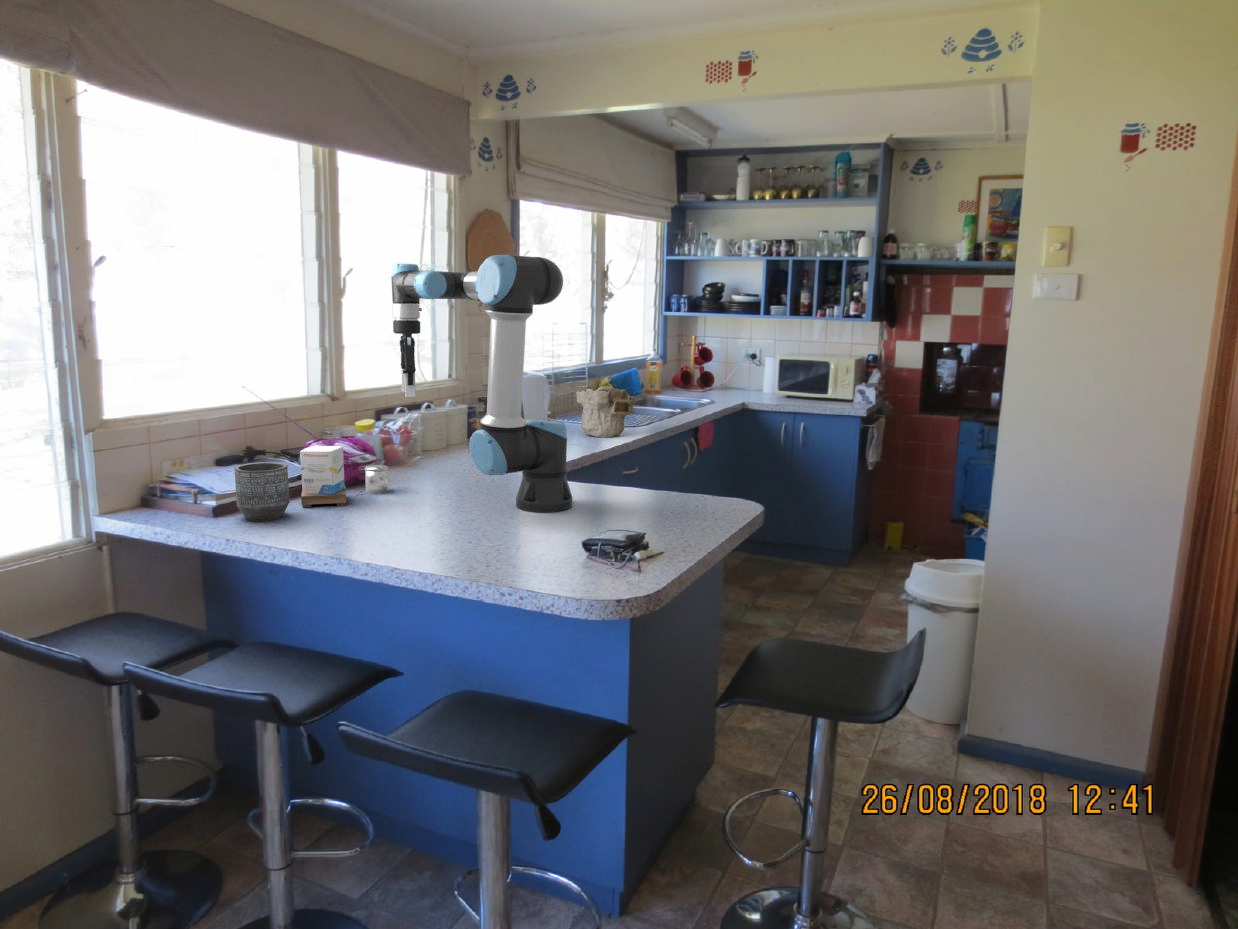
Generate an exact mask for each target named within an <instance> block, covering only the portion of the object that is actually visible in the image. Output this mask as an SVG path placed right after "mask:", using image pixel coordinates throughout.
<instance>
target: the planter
mask: <svg viewBox="0 0 1238 929" xmlns="http://www.w3.org/2000/svg"><path fill="white" fill-rule="evenodd" d="M288 467H289V466H288V464H287V463H284V462H276V461H275V462H273V461H266V462H265V461H262V462H249V463H244V464H240V465H236V466H234V482H235V483H234V486H235V500H236V501H235V502H236V507H237V509H238V510H239V511H240V513H241V514H242V515H243V516H244V517H245V519H246V520H247V521H251V520H252V521H254V522H264V521H265V522H266V521H273V520H277V519H280V518H282V517H283V515H284V514H285V512H286V510H287V508H288V506H289V504H290V489H289V486H290V484H289V481H290V480H289V470H288V469H289V468H288ZM252 521H251V522H252Z"/></svg>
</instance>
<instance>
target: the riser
mask: <svg viewBox="0 0 1238 929" xmlns="http://www.w3.org/2000/svg"><path fill="white" fill-rule="evenodd" d="M346 494H347V493H346V487H345V488H344V489H342V490H341V491H339V492H337V493H335V494H303V488H302V490H301V495H300V500H301V502H300V503H301V505H302V508H312V505H327V504H336V506H337V507H340V506H342V505H343V506H346V503H347V495H346Z"/></svg>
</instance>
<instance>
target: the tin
mask: <svg viewBox="0 0 1238 929" xmlns="http://www.w3.org/2000/svg"><path fill="white" fill-rule="evenodd" d="M388 469H389V468H388V465H384V464H371V465H370V464H369V465H366V466H364V471H365V472H364V473H365V477H364V480H365V493H366V494H369V493H373V494H372V495H379V494H378V493H382V494H386V493H388V492H389V485H388V484H389V483H388V481H389V480H388Z"/></svg>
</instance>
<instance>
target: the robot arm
mask: <svg viewBox="0 0 1238 929" xmlns="http://www.w3.org/2000/svg"><path fill="white" fill-rule="evenodd" d="M563 277H564V276H563V274H562V271H561V269H560V268H559V266H558V265H557V264H556V263H555V262H553V261H552V260H550V259H549V258H545V257H541V256H525V255H514V254H513V255H511V254H496V255H495V254H494V255H491V256H488V257H487V258H486V259H485V260H483V262H482V263H481V264H480V266H479V268H478V270H477V271H465V272H462V271H461V272H460V271H459V272H458V271H455V272H454V271H442V270H441V271H439V270H432V269H431V270H429V269H426V270H420V267H419V265H418V264H416V263H393V265H392V266H391V277H390V280H391V296H392V303H391V304H392V318H393V319H394V320H393V321H392V325H393V326H392V328H393V329H392V330H393V331H392V332H393V334H399V335H400V334H402V335H400V339H399V348H400V350H399V351H400V368H401V371H400V372H401V392H404V393H405V394H404V395H405V398H410V397H411V398H416V395H417V394H416V371H417V370H416V369H417V368H416V360H415V350H416V349H415V346H416V342H415V338H414V337H413V335H414V334H415V335H416V334H417V335H418V334H421V321H420V320H419V319H420V318H421V312H422V311H423V308H422V307H421V306H420V304H421V302H420V301H421V299H423V300H466V301H467V300H468V301H475V300H479V301H480V302H481V303H482V304H484V312H485V313H486V314H487V316H489V318H490V323H489V324H490V326H489V347H488V348H489V350H488V369H487V370H488V375H487V400H486V414H485V415H484V416H483V417H482V418H481V419H480V422H479V429H478V430H476V431H473V433H472V435H471V436H470V438H469V443H468V444H469V454H470V457H471V459H472V462H473V463H474V465H475V468H477V469H478V470H479V471H480V472H481V473H482V474H484V475H486V476H503V475H506V474H513V473H519V472H522V477H521V478H522V479H521V481H520V484H519V487H518V491H517V494H516V497H515V507H516V508H517V509H519V510H523V511H525V512H532V513H533V512H535V513H552V512H553V513H555V512H561V510H562V511H566V510H569V509H571V508H572V507H573V506H572V505H574V504H573V503H574V502H573V499H574V498H573V495H572V492H571V489H570V484H569V482H568V479H567V453H568V452H567V443H568V438H567V437H568V436H567V428H566V425H565V424H564V423H563V422H560V421H552V420H545V419H537V418H536V419H534V418H523V417H522V407H523V406H522V403H523V402H522V401H523V388H524V387H523V386H524V385H523V384H524V383H523V382H524V369H525V368H524V366H525V365H524V364H525V363H524V362H525V346H526V342H525V341H526V330H527V329H526V327H527V326H526V325H527V320H528V319H529V318H530V317H531V316H532V315H533V311H534V310H533V309H534V306H538V305H539V306H540V305H546V304H549V303H552V302H553V301H555V300H556V299H557V298H558V297H559V296H560V294H561V293H562V290H563V287H564V278H563ZM570 507H571V508H570ZM568 508H569V509H568Z"/></svg>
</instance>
